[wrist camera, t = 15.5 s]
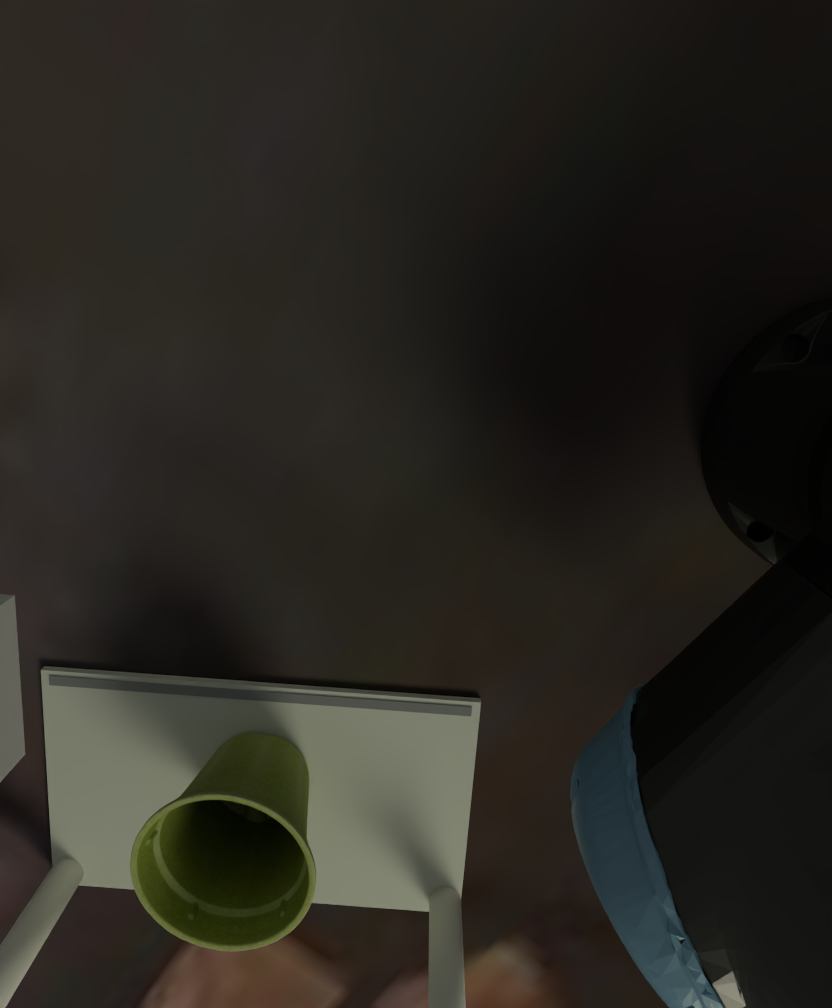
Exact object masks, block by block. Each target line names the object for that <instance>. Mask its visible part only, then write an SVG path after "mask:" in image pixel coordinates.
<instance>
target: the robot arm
mask: <svg viewBox="0 0 832 1008" xmlns="http://www.w3.org/2000/svg"><path fill="white" fill-rule="evenodd" d="M702 462H703V471H704V476H705V481H706V485H707V488H708V491H709V494H710V497H711V499H712V502H713V504H714V506H715V508H716V510H717V512H718V513H719V515H720V517H721V518H722V520H723V521H724V523H725V524H726V525H727V527H728V528H729V529H730V530H731V531H732V533H733V534H734V535H735V536H736V537H737V538H738V539H739V540H741V541H742V542H743V543H744V544H745V545H746V546H748V547H749V548H750V549H751V550H752V551H754V552H755V553H756V554H757V555H759V556H760V557H761V558H763V559H764V560H765V561H767V562H768V563H770V564H772V565H773V566H772V567H771V568H770V569H769V570H768V571H767V572H766V573H765V574H764V575H763V576H762V577H760V578H759V579H758V580H757V581H756V582H755V583H754V584H753V585H752V586H751V587H750V588H749V589H748V590H747V591H746V592H744V593H743V594H742V595H741V596H740V597H739V598H738V599H737V600H736V601H735V602H734V603H733V604H732V605H731V606H730V607H728V608H727V609H726V610H725V611H724V612H723V613H722V614H721V615H720V616H719V617H718V618H717V619H716V620H715V621H714V622H712V623H711V624H710V625H709V626H708V627H707V628H706V629H705V630H704V631H703V632H702V633H701V634H700V635H699V636H698V637H696V638H695V639H694V640H693V641H692V642H691V643H690V644H689V645H688V646H687V647H686V648H685V649H684V650H683V651H682V652H680V653H679V654H678V655H677V656H676V657H675V658H674V659H673V660H672V661H671V662H670V663H669V664H668V665H667V666H666V667H664V668H663V669H662V670H661V671H660V672H659V673H658V674H657V675H656V676H655V677H653V678H652V679H651V680H650V681H649V682H648V683H647V684H646V683H642V684H640V685H639V686H637V687H636V688H635V689H634V690H633V691H632V692H631V693H629V695H628V697H627V699H626V701H625V703H624V706H623V707H622V708H621V709H620V710H619V711H618V712H617V713H616V714H615V716H614V717H613V718H612V719H611V720H610V721H609V722H608V723H607V724H606V725H605V726H604V727H603V728H602V729H601V731H600V732H599V733H598V734H597V735H596V736H595V737H594V738H593V739H592V740H591V741H590V742H589V743H588V744H587V745H586V746H585V748H584V749H583V750H582V752H581V753H580V755H579V757H578V759H577V761H576V763H575V766H574V769H573V773H572V778H571V792H570V796H571V802H572V821H573V826H574V831H575V834H576V838H577V842H578V846H579V849H580V852H581V855H582V858H583V861H584V864H585V866H586V869H587V872H588V874H589V877H590V879H591V881H592V884H593V886H594V888H595V891H596V893H597V895H598V897H599V899H600V901H601V903H602V905H603V908H604V909H605V911H606V913H607V915H608V917H609V919H610V921H611V923H612V925H613V926H614V928H615V930H616V932H617V934H618V935H619V937H620V939H621V940H622V942H623V944H624V946H625V947H626V949H627V951H628V952H629V954H630V955H631V957H632V959H633V960H634V962H635V963H636V965H637V966H638V968H639V969H640V971H641V972H642V974H643V975H644V976H645V978H646V979H647V981H648V982H649V983H650V985H651V986H652V987H653V989H654V990H655V991H656V992H657V994H658V995H659V996H660V997H661V999H662V1000H663V1001H664V1002H665V1003H666V1004H667V1006H668V1007H670V1008H832V297H831V298H828V299H824V300H820V301H817V302H814V303H811V304H809V305H806V306H804V307H802V308H799V309H797V310H795V311H793V312H791V313H789V314H787V315H786V316H784V317H782V318H781V319H779V320H777V321H776V322H774V323H773V324H772V325H770V326H769V327H767V328H766V329H765V330H764V331H762V332H761V333H760V334H759V335H758V336H757V337H755V338H754V339H753V340H752V341H751V342H750V343H749V344H748V345H747V346H746V347H745V348H744V349H743V350H742V352H741V353H740V354H739V355H738V356H737V358H736V359H735V360H734V362H733V363H732V364H731V366H730V367H729V368H728V370H727V372H726V373H725V375H724V376H723V378H722V380H721V382H720V384H719V386H718V387H717V390H716V392H715V394H714V396H713V399H712V401H711V404H710V407H709V410H708V414H707V417H706V422H705V426H704V433H703V442H702ZM24 755H25V744H24V729H23V714H22V699H21V684H20V669H19V654H18V639H17V624H16V609H15V595H2V594H0V782H1V781H2V780H3V779H4V778H5V776H6V775H7V774H8V773H9V772H10V771H11V770H12V768H13V767H14V766H15V765H16V764H17V763H18V762H19V760H20V759H21V758H22V757H23V756H24Z"/></svg>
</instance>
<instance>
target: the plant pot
mask: <svg viewBox="0 0 832 1008" xmlns="http://www.w3.org/2000/svg"><path fill="white" fill-rule="evenodd" d="M308 800H309V772H308V767H307V764H306V762H305V760H304V758H303V757H302V755H301V754H300V752H299V751H298V750H297V749H296V748H295V747H294V746H293V745H292V744H291V743H289V742H288V741H286V740H285V739H283V738H281V737H279V736H276V735H265V734H257V733H253V732H247V733H242V734H239V735H236V736H234V737H232V738H230V739H228V740H227V741H225V742H224V743H223V744H222V745H221V746H220V747H219V748H218V749H217V750H216V752H215V753H214V754H213V755H212V757H211V758H210V759H209V760H208V762H207V763H206V764H205V766H204V767H203V768H202V770H201V771H200V772H199V773H198V775H197V776H196V777H195V778H194V780H193V781H192V782H191V783H190V785H189V786H188V787H187V788H186V790H185V791H184V792H183V793H182V795H181V796H180V797H178V798H177V799H176V800H174V801H172V802H170V803H168V804H166V805H165V806H163V807H162V808H160V809H159V810H158V811H157V812H155V813H154V814H153V815H152V816H151V817H150V818H149V819H148V820H147V821H146V823H145V824H144V826H143V827H142V828H141V830H140V832H139V833H138V835H137V837H136V839H135V841H134V844H133V848H132V852H131V858H130V873H131V879H132V884H133V886H134V889H135V892H136V894H137V896H138V898H139V900H140V902H141V903H142V905H143V906H144V908H145V909H146V910H147V912H148V913H149V914H150V915H151V916H152V917H153V918H154V919H155V920H156V921H157V922H158V923H159V924H160V925H161V926H162V927H164V928H165V929H166V930H168V931H169V932H170V933H172V934H174V935H175V936H177V937H179V938H180V939H182V940H186V941H188V942H190V943H192V944H195V945H198V946H201V947H205V948H210V949H215V950H220V951H244V950H250V949H255V948H259V947H263V946H266V945H269V944H271V943H274V942H276V941H277V940H279V939H281V938H282V937H284V936H285V935H287V934H288V933H290V932H291V931H292V930H293V929H294V928H295V927H296V926H297V925H298V924H299V923H300V922H301V920H302V919H303V918H304V916H305V915H306V913H307V911H308V909H309V908H310V905H311V903H312V900H313V896H314V892H315V885H316V867H315V861H314V858H313V855H312V852H311V849H310V847H309V845H308V841H307V817H308ZM234 802H238V803H239V804H236V803H234Z"/></svg>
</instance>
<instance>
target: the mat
mask: <svg viewBox="0 0 832 1008" xmlns="http://www.w3.org/2000/svg"><path fill="white" fill-rule="evenodd" d="M41 681H42V698H43V715H44V732H45V749H46V766H47V783H48V801H49V818H50V835H51V852H52V868H51V869H50V871H49V872H48V874H47V875H46V877H45V879H44V880H43V882H42V883H41V885H40V886H39V888H38V889H37V891H36V892H35V894H34V895H33V897H32V898H31V900H30V901H29V903H28V904H27V906H26V907H25V909H24V910H23V912H22V913H21V915H20V916H19V918H18V919H17V921H16V922H15V924H14V925H13V927H12V928H11V930H10V931H9V933H8V934H7V936H6V937H5V939H4V940H3V942H2V943H1V945H0V1008H5V1007H6V1005H7V1004H8V1002H9V1000H10V999H11V997H12V995H13V994H14V992H15V990H16V989H17V987H18V985H19V984H20V982H21V980H22V979H23V977H24V975H25V974H26V972H27V970H28V969H29V967H30V965H31V964H32V962H33V960H34V959H35V957H36V955H37V954H38V952H39V950H40V949H41V947H42V945H43V944H44V942H45V940H46V939H47V937H48V935H49V934H50V932H51V930H52V929H53V927H54V925H55V924H56V922H57V920H58V919H59V917H60V915H61V914H62V912H63V910H64V909H65V907H66V905H67V904H68V902H69V900H70V898H71V897H72V895H73V893H74V892H75V890H76V888H77V887H78V885H81V886H95V887H108V888H121V889H134V886H133V884H132V879H131V873H130V858H131V852H132V848H133V844H134V841H135V839H136V837H137V835H138V833H139V832H140V830H141V828H142V827H143V826H144V824H145V823H146V821H147V820H148V819H149V818H150V817H151V816H152V815H153V814H154V813H155V812H157V811H158V810H159V809H160V808H162V807H163V806H165V805H166V804H168V803H170V802H172V801H174V800H176V799H177V798H178V797H180V796H181V795H182V793H183V792H184V791H185V790H186V788H187V787H188V786H189V785H190V783H191V782H192V781H193V780H194V778H195V777H196V776H197V775H198V773H199V772H200V771H201V770H202V768H203V767H204V766H205V764H206V763H207V762H208V760H209V759H210V758H211V757H212V755H213V754H214V753H215V752H216V750H217V749H218V748H219V747H220V746H221V745H222V744H223V743H224V742H225V741H227V740H228V739H230V738H232V737H234V736H236V735H239V734H242V733H247V732H253V733H257V734H265V735H276V736H279V737H281V738H283V739H285V740H286V741H288V742H289V743H291V744H292V745H293V746H294V747H295V748H296V749H297V750H298V751H299V752H300V754H301V755H302V757H303V758H304V760H305V762H306V764H307V767H308V772H309V800H308V817H307V841H308V845H309V847H310V849H311V852H312V855H313V858H314V861H315V867H316V885H315V892H314V896H313V900H312V903H321V904H335V905H348V906H361V907H375V908H388V909H401V910H414V911H428V912H429V1003H428V1008H466V1006H465V983H464V959H463V936H462V913H461V895H462V885H463V875H464V865H465V855H466V845H467V835H468V825H469V815H470V805H471V795H472V786H473V776H474V766H475V756H476V746H477V736H478V726H479V716H480V706H481V699H480V698H469V697H456V696H442V695H429V694H415V693H402V692H388V691H375V690H361V689H348V688H334V687H321V686H307V685H294V684H280V683H267V682H253V681H240V680H226V679H213V678H199V677H185V676H172V675H158V674H145V673H131V672H118V671H104V670H91V669H77V668H64V667H50V666H44V667H43V668H42V669H41ZM234 803H236V804H239V803H238V802H234Z"/></svg>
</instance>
